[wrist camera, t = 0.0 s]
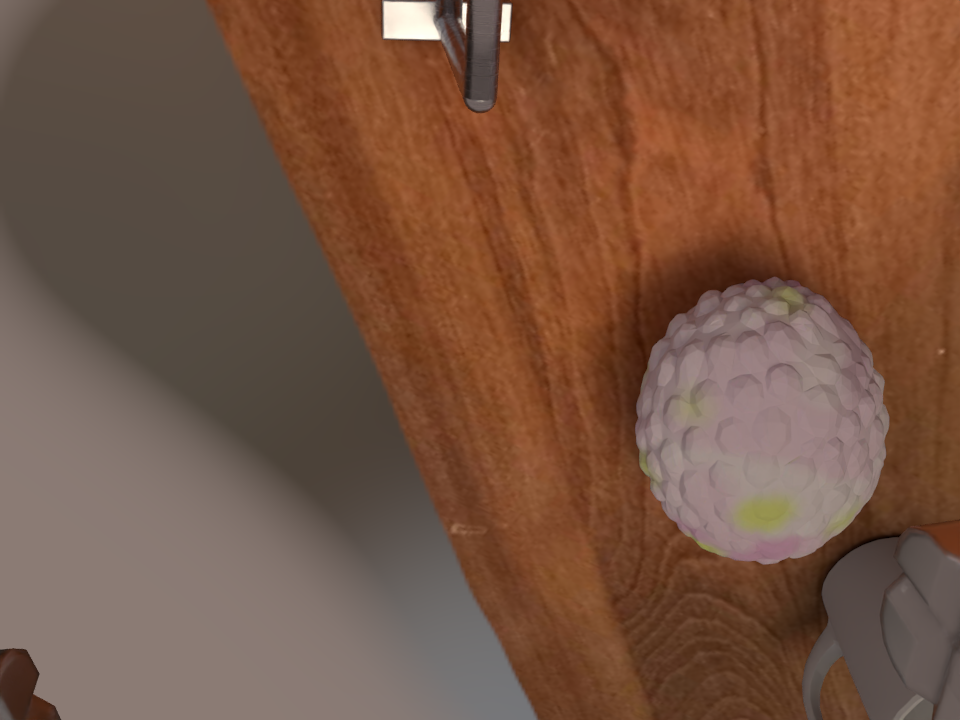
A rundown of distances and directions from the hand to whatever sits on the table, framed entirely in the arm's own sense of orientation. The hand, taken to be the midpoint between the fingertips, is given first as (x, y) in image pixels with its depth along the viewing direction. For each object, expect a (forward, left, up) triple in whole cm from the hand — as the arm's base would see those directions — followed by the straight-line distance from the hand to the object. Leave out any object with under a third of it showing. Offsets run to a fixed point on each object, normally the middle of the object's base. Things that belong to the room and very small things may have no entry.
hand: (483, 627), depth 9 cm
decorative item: (+15, +13, -24) cm, 31 cm away
